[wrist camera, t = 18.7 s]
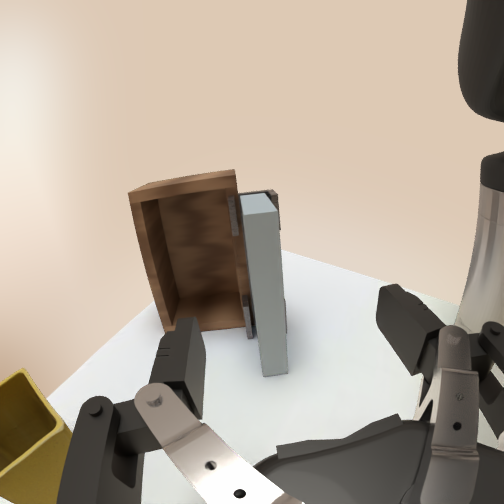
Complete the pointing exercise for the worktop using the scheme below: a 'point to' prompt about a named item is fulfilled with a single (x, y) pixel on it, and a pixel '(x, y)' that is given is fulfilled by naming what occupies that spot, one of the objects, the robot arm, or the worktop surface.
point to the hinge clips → (234, 224)
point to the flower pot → (30, 443)
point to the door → (266, 280)
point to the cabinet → (193, 249)
